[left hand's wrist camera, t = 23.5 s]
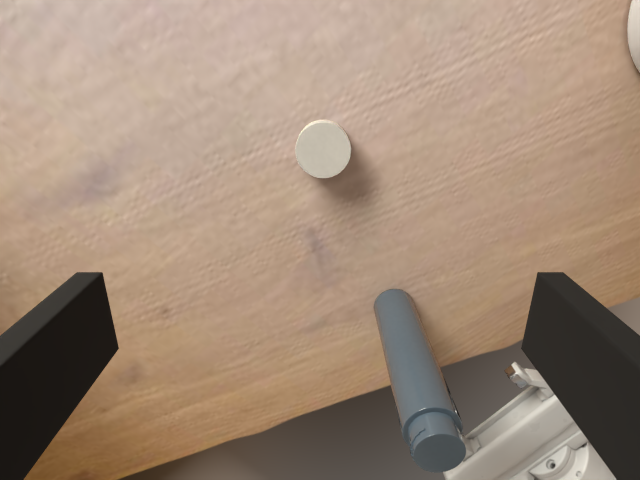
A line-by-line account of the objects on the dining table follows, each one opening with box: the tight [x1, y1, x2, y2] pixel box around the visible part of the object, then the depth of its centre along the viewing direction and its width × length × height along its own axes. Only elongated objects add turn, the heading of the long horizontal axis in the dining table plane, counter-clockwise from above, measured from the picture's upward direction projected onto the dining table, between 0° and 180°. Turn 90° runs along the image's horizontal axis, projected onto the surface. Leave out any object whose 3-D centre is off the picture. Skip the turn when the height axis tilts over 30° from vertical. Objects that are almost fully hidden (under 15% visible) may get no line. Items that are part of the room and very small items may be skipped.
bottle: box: [374, 289, 466, 472], centre depth 38 cm, size 4×4×20 cm
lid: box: [295, 120, 351, 178], centre depth 40 cm, size 5×5×2 cm
